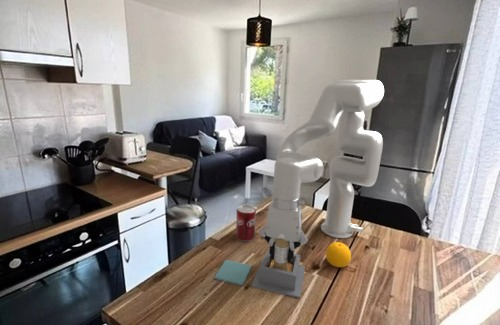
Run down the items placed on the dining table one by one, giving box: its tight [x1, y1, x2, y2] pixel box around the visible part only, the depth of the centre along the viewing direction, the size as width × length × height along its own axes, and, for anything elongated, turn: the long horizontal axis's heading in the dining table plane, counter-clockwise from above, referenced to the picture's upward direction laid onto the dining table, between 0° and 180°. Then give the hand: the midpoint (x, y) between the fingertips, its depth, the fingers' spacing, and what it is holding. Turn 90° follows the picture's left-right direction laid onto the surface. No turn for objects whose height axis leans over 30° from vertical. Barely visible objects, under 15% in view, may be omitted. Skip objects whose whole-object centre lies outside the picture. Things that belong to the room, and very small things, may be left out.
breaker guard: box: [251, 248, 306, 299], centre depth 81 cm, size 14×14×6 cm
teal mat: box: [214, 259, 253, 286], centre depth 83 cm, size 9×9×1 cm
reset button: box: [269, 260, 293, 272], centre depth 81 cm, size 7×7×2 cm
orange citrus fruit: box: [325, 241, 352, 268], centre depth 88 cm, size 8×8×8 cm
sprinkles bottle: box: [273, 234, 290, 271], centre depth 79 cm, size 5×5×14 cm
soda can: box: [235, 204, 257, 243], centre depth 102 cm, size 7×7×12 cm
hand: (281, 257), depth 80 cm, fingers closed on sprinkles bottle, 4 cm apart
